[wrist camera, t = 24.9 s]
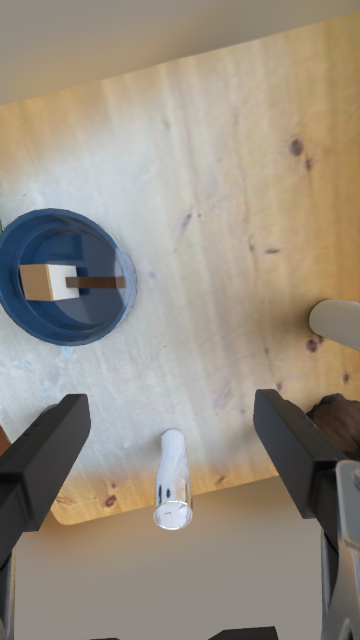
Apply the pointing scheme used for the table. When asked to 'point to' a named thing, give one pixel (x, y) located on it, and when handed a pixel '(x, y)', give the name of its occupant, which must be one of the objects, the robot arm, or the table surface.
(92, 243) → the bowl
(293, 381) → the table surface
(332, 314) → the travel mug
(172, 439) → the beer glass
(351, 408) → the owl
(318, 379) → the table surface
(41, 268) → the mallet with brown handle
